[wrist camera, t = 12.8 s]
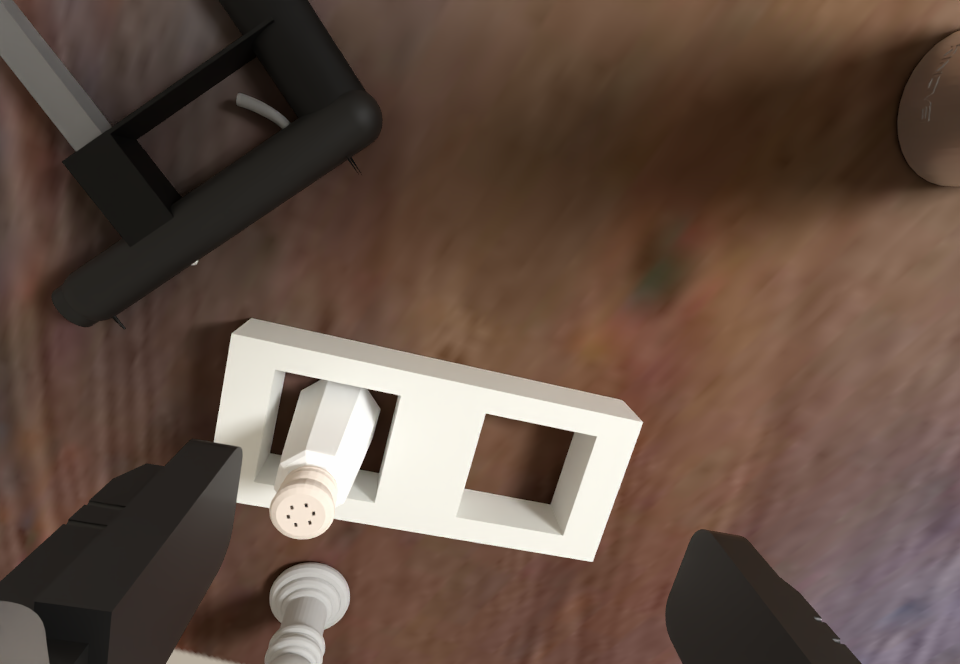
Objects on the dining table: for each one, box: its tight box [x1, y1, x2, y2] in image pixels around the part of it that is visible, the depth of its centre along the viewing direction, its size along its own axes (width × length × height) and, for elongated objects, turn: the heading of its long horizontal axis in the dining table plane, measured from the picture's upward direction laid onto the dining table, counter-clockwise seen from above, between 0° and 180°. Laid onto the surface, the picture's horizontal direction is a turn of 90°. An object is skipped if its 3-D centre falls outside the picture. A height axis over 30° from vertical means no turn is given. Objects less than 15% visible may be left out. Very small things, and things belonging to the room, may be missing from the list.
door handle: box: [0, 0, 382, 329], centre depth 28 cm, size 3×20×16 cm
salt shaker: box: [269, 379, 381, 539], centre depth 29 cm, size 5×5×11 cm
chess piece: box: [265, 562, 350, 664], centre depth 33 cm, size 5×5×9 cm
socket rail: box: [214, 318, 643, 562], centre depth 34 cm, size 24×10×4 cm, turn 75°
